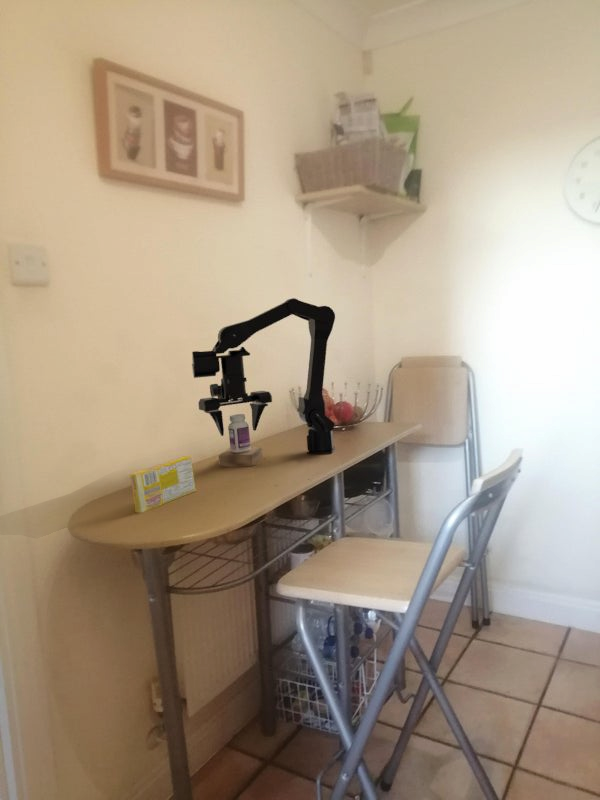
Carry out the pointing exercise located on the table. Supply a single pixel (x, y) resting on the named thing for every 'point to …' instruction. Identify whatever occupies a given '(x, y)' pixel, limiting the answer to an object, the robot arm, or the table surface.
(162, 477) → the candy box
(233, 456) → the tan flat square block
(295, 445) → the table surface
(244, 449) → the pill bottle
